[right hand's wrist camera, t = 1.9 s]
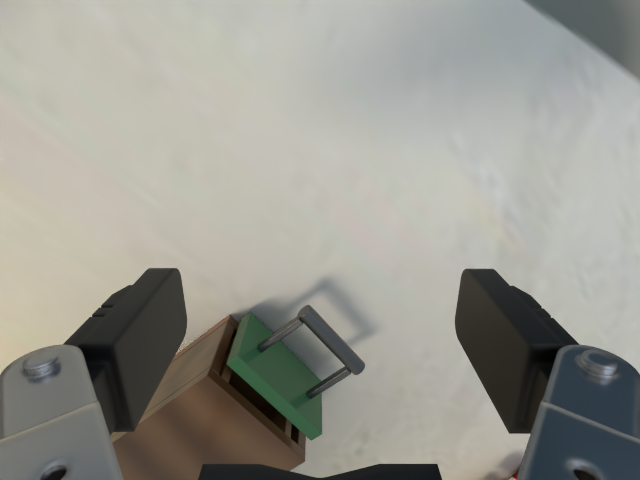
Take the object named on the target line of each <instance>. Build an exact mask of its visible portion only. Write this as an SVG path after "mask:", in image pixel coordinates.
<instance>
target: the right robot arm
mask: <svg viewBox="0 0 640 480" xmlns="http://www.w3.org/2000/svg"><path fill="white" fill-rule="evenodd" d="M186 328H187V315H186V308H185V301H184V294H183V287H182V280H181V275H180V272H179V270H178V269H177V268H149V269H148V270H146V272H145V273H144V274H143V275H142V276H141V277H140V278H139V279H138V280H137V281H136V282H135V283H134V284H133V285H129V286H127V287H125V288H123V289H121V290H120V291H118V292H116V293H114V294H112V295H111V296H110V297H109V298H108V299H107V300H106V301H105V302H104V303H103V304H102V305H101V308H98V310H97V311H96V312H95V313H94V314H93V315H92V317H90V318H89V319H88V320H87V321H86V322H85V323H84V324H83V325H82V326H81V327H80V328H79V329H78V330H77V331H76V332H75V333H74V334H73V335H72V336H71V337H70V338H69V339H68V340H67V341H66V342H65V343H64V344H63V345H54V346H49V347H45V348H41V349H38V350H35V351H32V352H30V353H28V354H26V355H24V356H22V357H20V358H18V359H17V360H15V361H14V362H12V363H11V364H10V365H8V366H7V367H6V368H5V369H4V370H3V372H2V373H1V375H0V480H124V479H123V476H122V473H121V469H120V466H119V463H118V460H117V457H116V454H115V450H114V447H113V444H112V441H111V438H110V436H111V434H112V433H113V432H134V431H135V429H136V427H137V425H138V423H139V421H140V419H141V418H142V416H143V414H144V412H145V410H146V408H147V406H148V404H149V403H150V401H151V399H152V397H153V395H154V393H155V391H156V390H157V388H158V386H159V384H160V382H161V380H162V378H163V376H164V375H165V373H166V371H167V369H168V367H169V365H170V363H171V362H172V360H173V358H174V356H175V354H176V352H177V350H178V348H179V347H180V345H181V343H182V341H183V339H184V337H185V333H186ZM455 328H456V334H457V337H458V340H459V342H460V343H461V345H462V347H463V349H464V351H465V353H466V354H467V356H468V358H469V360H470V362H471V364H472V366H473V367H474V369H475V371H476V373H477V375H478V377H479V378H480V380H481V382H482V384H483V386H484V388H485V389H486V391H487V393H488V395H489V397H490V399H491V401H492V402H493V404H494V406H495V408H496V410H497V412H498V413H499V415H500V417H501V419H502V421H503V423H504V425H505V426H506V428H507V430H508V432H509V433H530V434H531V435H530V438H529V441H528V444H527V447H526V450H525V454H524V457H523V460H522V463H521V466H520V469H519V473H518V476H517V479H516V480H640V375H639V373H638V372H637V370H636V369H635V368H634V367H633V366H632V365H630V364H629V363H628V362H626V361H625V360H623V359H622V358H620V357H618V356H616V355H614V354H612V353H610V352H608V351H605V350H602V349H599V348H595V347H591V346H586V345H579V344H578V343H577V342H576V341H575V340H574V339H573V338H572V337H571V336H570V335H569V334H568V333H567V332H566V331H565V330H564V329H563V328H562V327H561V326H560V325H559V324H558V323H557V322H556V321H555V320H554V319H553V318H551V316H550V315H549V314H548V313H547V311H546V310H545V309H542V308H541V305H540V304H539V303H538V302H537V301H536V300H535V299H534V298H533V297H532V296H531V295H529V294H527V293H525V292H523V291H522V290H520V289H518V288H516V287H514V286H509V284H508V283H507V282H506V281H505V280H504V279H503V278H502V277H501V276H500V275H499V274H498V273H497V272H496V271H495V270H494V269H465V270H464V271H463V273H462V276H461V282H460V288H459V295H458V302H457V309H456V315H455ZM198 480H442V478H441V475H440V472H439V468H438V465H437V464H378V465H374V466H370V467H366V468H362V469H358V470H354V471H350V472H346V473H342V474H338V475H334V476H330V477H325V478H315V477H310V476H306V475H302V474H298V473H294V472H290V471H286V470H282V469H278V468H274V467H270V466H266V465H262V464H203V465H202V468H201V472H200V475H199V478H198Z"/></svg>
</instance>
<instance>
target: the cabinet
mask: <svg viewBox="0 0 640 480" xmlns="http://www.w3.org/2000/svg"><path fill="white" fill-rule="evenodd" d="M238 327H239V323H238V322H237V321H236V320H235V319H234V318H233V317H231V315H229V316H227V317H226V318H225V319H223V320H222V321H221V322H219V323H218V324H217V325H215V326H214V327H213V328H211V329H210V330H209V331H207V332H206V333H205V334H203V335H202V336H201V337H199V338H198V339H197V340H195V341H194V342H193V343H191V344H190V345H189V346H187V347H186V348H185V349H183V350H182V351H181V352H179V353H178V354H177V355H175V356H174V358H173V360H172V362H171V363H170V365H169V367H168V369H167V371H166V373H165V375H164V376H163V378H162V380H161V382H160V384H159V386H158V388H157V390H156V391H155V393H154V395H153V397H152V399H151V401H150V403H149V404H148V406H147V408H146V410H145V412H144V414H143V416H142V418H141V419H140V421H139V423H138V425H137V427H136V429H135V431H134V432H113V433H112V434H111V436H110V438H111V441H112V444H113V447H114V450H115V454H116V457H117V460H118V463H119V466H120V469H121V473H122V476H123V479H124V480H198V478H199V475H200V472H201V468H202V465H203V464H262V465H266V466H270V467H274V468H278V469H282V470H286V471H290V470H291V469H293V468H295V467H296V466H298V465H300V464H301V463H303V462H305V443H306V435H304V434H303V433H302V432H301V431H300V430H299V429H298V428H297V427H296V426H294V425H293V424H292V427H291V438H290V437H289V436H288V435H286V434H285V433H284V432H283V431H282V430H281V429H280V428H278V427H277V426H276V425H275V424H274V423H273V422H272V421H271V420H269V419H268V418H267V417H266V416H265V415H264V414H263V413H262V412H260V411H259V410H258V409H257V408H256V407H255V406H254V405H252V404H251V403H250V402H249V401H248V400H247V399H246V398H245V397H243V396H242V395H241V394H240V393H239V392H238V391H237V390H236V389H234V388H233V387H232V386H231V385H230V384H229V383H228V382H227V381H225V380H224V379H223V378H222V377H221V376H220V375H219V373H220V370H221V367H222V364H223V361H224V358H225V355H226V352H227V349H228V346H229V343H230V340H231V339H232V338H234V337H235V336H236V333H237V330H238Z"/></svg>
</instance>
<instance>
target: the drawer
mask: <svg viewBox="0 0 640 480" xmlns="http://www.w3.org/2000/svg"><path fill="white" fill-rule="evenodd" d="M303 323H304V324H305V325H306V326H307V327H308V328H309V329H310V330H311V331H312V332H313V333H314V334H315V335H316V336H317V337H318V338H319V339H320V340H321V341H322V342H323V343H324V344H325V345H326V346H327V347H328V348H329V349H330V350H331V351H332V352H333V354H334V355H335V356H336V357H337V358H338V359H339V360H340V361H341V362H342V363H343V364H344V365H345V367H343V368H341V369H340V370H338V371H337V372H335V373H334V374H332V375H331V376H329V377H328V378H326V379H324V380H323V381H321V380H320V379H319V378H318V377H317V376H316V375H315V374H314V373H313V372H312V371H311V370H310V369H309V368H308V367H307V366H306V365H305V364H304V363H303V362H302V361H300V360H299V359H298V358H297V357H296V356H295V355H294V354H293V353H292V352H291V351H290V350H289V349H288V348H287V347H286V346H285V345H284V344H283V343H282V342H281V341H280V340H281V339H282V338H284V337H285V336H286V335H288V334H289V333H291V332H292V331H294V330H295V329H296V328H298V327H299V326H301V325H302V324H303ZM364 368H365V363H364V362H363V361H362V360H361V359H360V358H359V357H358V356H357V355H356V354H355V352H354V351H353V350H352V349H351V348H350V347H349V346H348V345H347V344H346V343H345V342H344V341H343V340H342V339H341V338H340V337H339V336H338V334H337V333H336V332H335V331H334V330H333V329H332V328H331V327H330V326H329V325H328V324H327V323H326V322H325V321H324V320H323V319H322V318H321V316H320V315H319V314H318V313H317V312H316V311H315V310H314V309H313V308H312V307H311V306H310V305H306V306H305V307H303V308H302V309H301V310H300V312H299V313H298V317H296V318H295V319H293V320H292V321H290V322H289V323H288V324H286V325H285V326H283V327H282V328H281V329H279V330H278V331H276V332H275V333H274V334H273V333H272V332H271V331H270V330H269V329H268V328H267V327H266V326H265V325H264V324H263V323H262V322H261V321H260V320H259V319H258V318H257V317H256V316H255V315H254V314H253V313H252V312H249V313H248V314H247V315H245V316H244V317H243V318H241V321H240V324H239V327H238V330H237V333H236V336H235V337H234V338H232V339H231V340H230V343H229V346H228V349H227V352H226V355H225V358H224V361H223V364H222V367H221V370H220V373H219V375H220V376H221V377H222V378H223V379H224V380H225V381H227V382H228V383H229V384H230V385H231V386H232V387H233V388H234V389H236V390H237V391H238V392H239V393H240V394H241V395H242V396H243V397H245V398H246V399H247V400H248V401H249V402H250V403H251V404H252V405H254V406H255V407H256V408H257V409H258V410H259V411H260V412H262V413H263V414H264V415H265V416H266V417H267V418H268V419H269V420H271V421H272V422H273V423H274V424H275V425H276V426H277V427H278V428H280V429H281V430H282V431H283V432H284V433H285V434H286V435H288V436H289V437H290V438H291V427H292V424H293V425H294V426H296V427H297V428H298V429H299V430H300V431H301V432H302V433H303V434H304V435H306V436H307V437H308V438H309V439H310V440H313V439H315V438H316V437H318V436H320V435H321V434H322V394H321V393H322V392H323V391H325V390H326V389H328V388H329V387H331V386H332V385H334V384H336V383H337V382H339V381H340V380H342V379H343V378H345V377H347V376H348V375H350V374H351V372H352V373H353V374H354V375H358V374H360V373H361V372H362V371H363V370H364Z"/></svg>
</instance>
